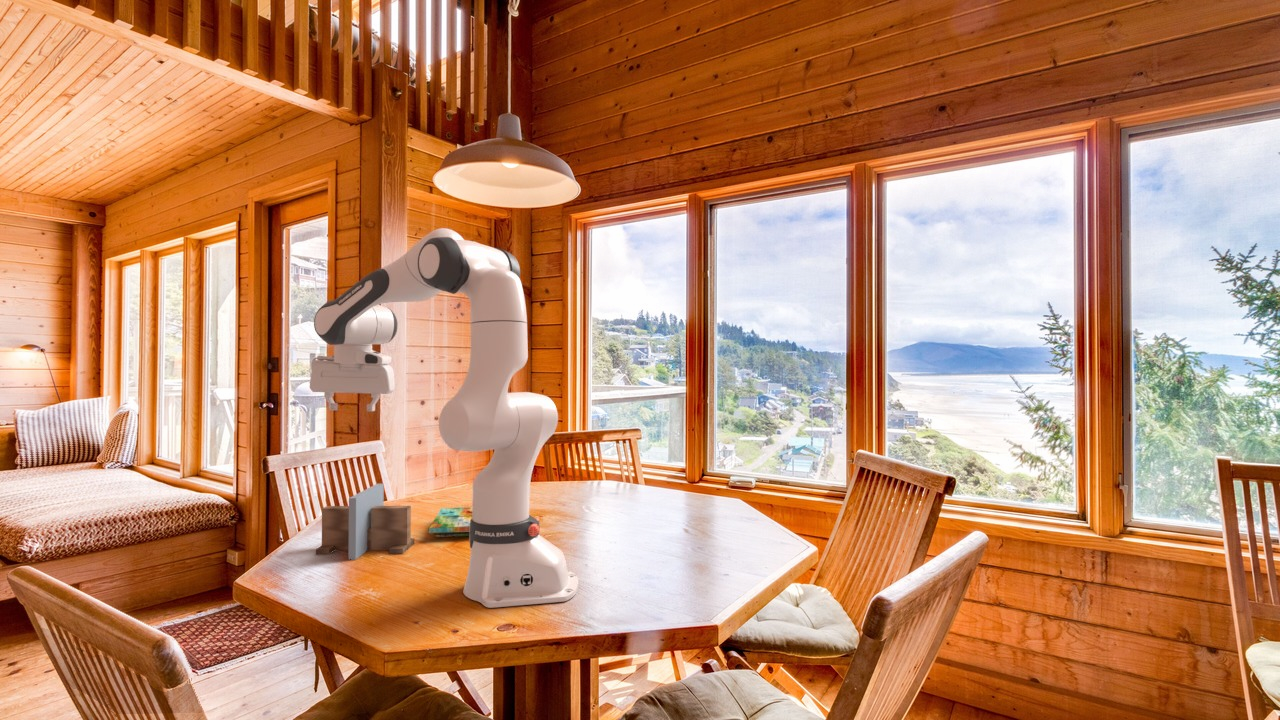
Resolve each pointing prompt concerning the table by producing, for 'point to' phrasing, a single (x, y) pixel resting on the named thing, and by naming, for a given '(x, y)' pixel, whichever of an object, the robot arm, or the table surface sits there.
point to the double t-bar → (384, 533)
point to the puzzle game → (452, 522)
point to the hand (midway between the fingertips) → (352, 410)
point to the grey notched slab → (362, 518)
